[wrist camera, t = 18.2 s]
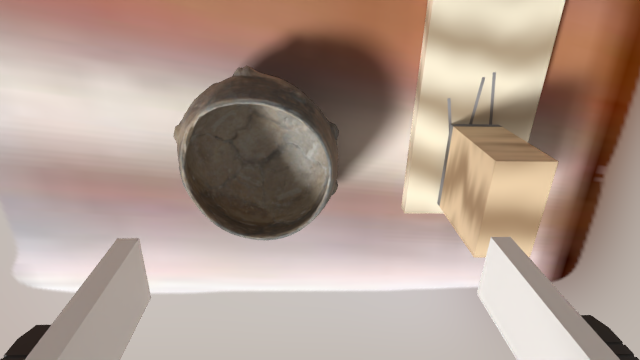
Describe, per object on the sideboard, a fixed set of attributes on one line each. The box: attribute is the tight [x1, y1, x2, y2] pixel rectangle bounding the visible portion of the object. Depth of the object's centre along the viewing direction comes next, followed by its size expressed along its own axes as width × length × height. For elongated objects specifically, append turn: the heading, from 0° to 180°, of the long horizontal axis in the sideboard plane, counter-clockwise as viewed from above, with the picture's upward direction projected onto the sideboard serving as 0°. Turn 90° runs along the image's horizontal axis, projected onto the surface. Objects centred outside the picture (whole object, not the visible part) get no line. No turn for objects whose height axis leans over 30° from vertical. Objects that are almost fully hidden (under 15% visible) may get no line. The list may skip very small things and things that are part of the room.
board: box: [401, 0, 565, 213], centre depth 39 cm, size 24×12×2 cm, turn 179°
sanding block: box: [437, 124, 558, 257], centre depth 37 cm, size 9×5×10 cm, turn 179°
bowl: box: [174, 66, 339, 240], centre depth 36 cm, size 14×15×10 cm
